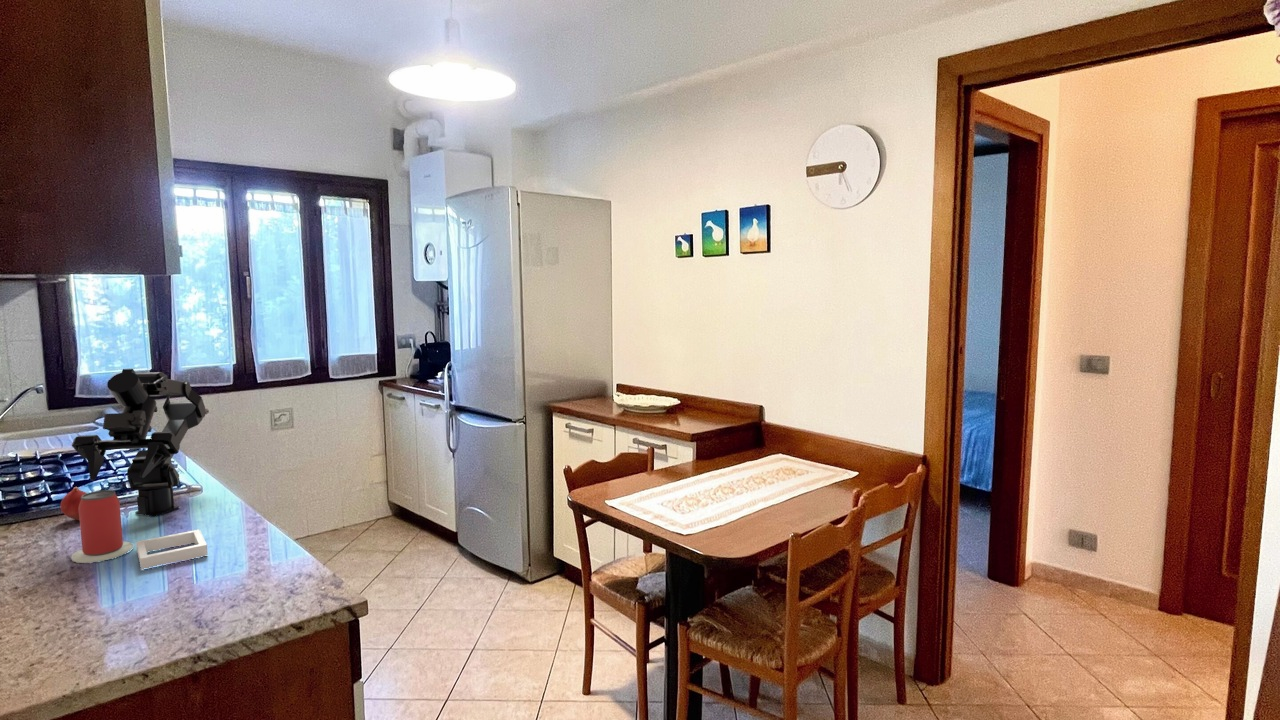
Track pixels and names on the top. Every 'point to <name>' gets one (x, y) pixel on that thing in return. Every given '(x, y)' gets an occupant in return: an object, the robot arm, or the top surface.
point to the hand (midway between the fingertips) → (117, 478)
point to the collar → (171, 555)
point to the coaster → (83, 558)
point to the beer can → (100, 523)
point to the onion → (72, 503)
